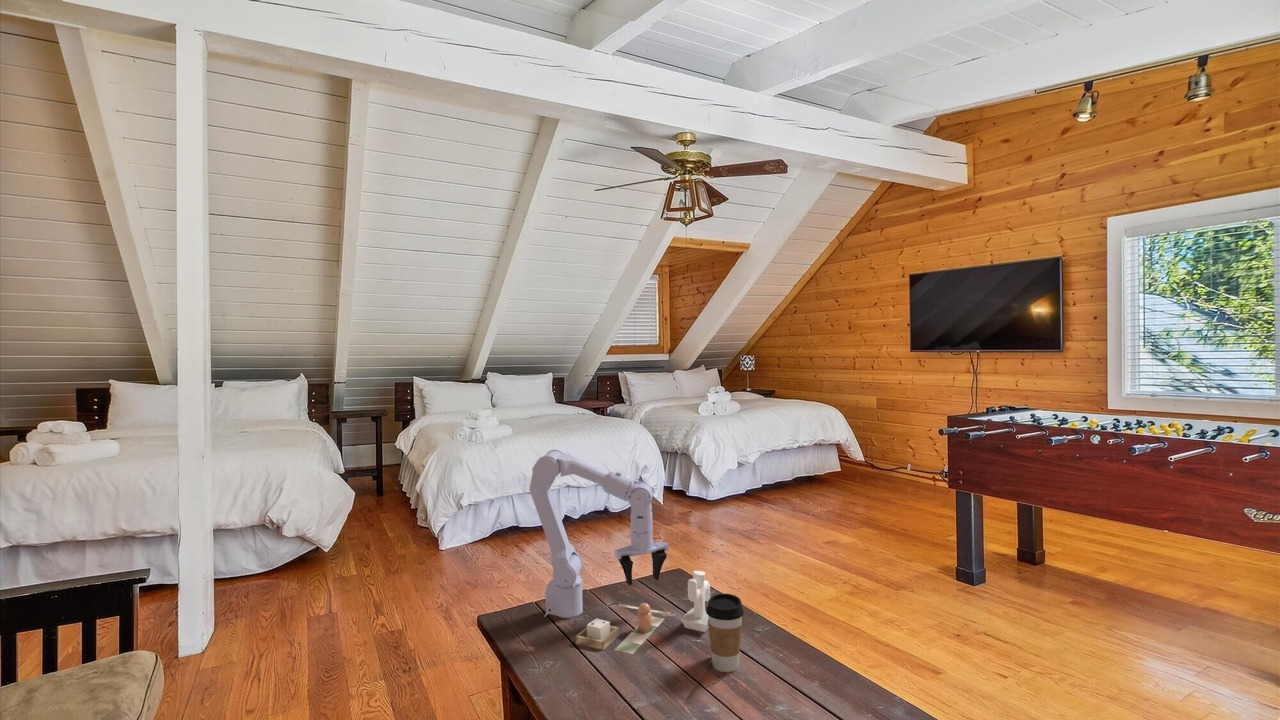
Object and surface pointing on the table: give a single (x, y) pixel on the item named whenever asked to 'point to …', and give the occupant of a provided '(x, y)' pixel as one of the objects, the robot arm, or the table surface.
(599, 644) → the game board
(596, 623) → the die
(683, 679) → the table surface
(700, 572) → the figurine
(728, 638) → the coffee cup
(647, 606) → the pawn
